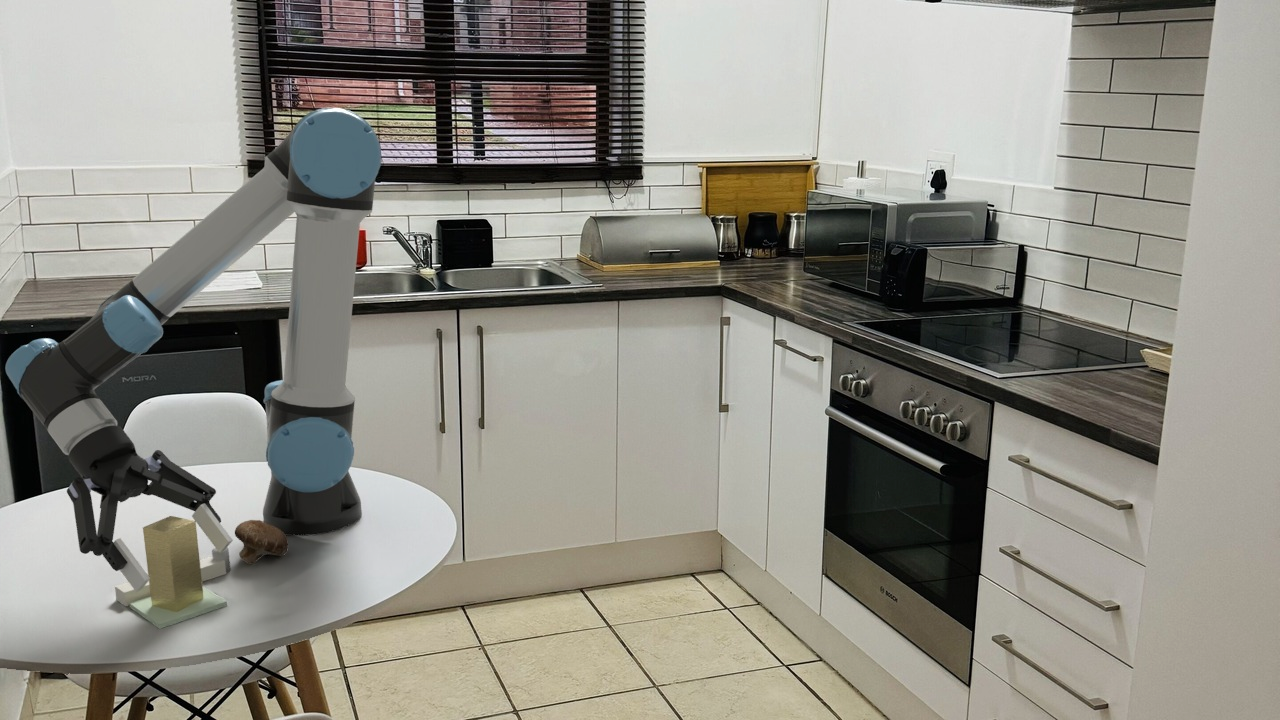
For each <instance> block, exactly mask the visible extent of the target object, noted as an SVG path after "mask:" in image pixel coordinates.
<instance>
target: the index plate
mask: <svg viewBox="0 0 1280 720" xmlns="http://www.w3.org/2000/svg"><path fill="white" fill-rule="evenodd" d="M202 587H203V597H204V598H203V599H202V600H200V601H198V602H196V603H194V604H192V605H190V606H188V607H186V608H184V609H182V610H180V611H178V612H174V611H170V610H166V609H162V608H159V607H155V606H152V602H151V596H150V597H147V598H144V599H141V600H138V601H135V602H132V603H130V605H129V608H130V609H132V610H133V611H135V612H136V613H137V614H138V615H140V616H141V617H143V618H144V619H145V620H147V621H148V622H150V623H151V624H153V626H155V627H156V628H157V629H163V628H165V627H169V626H172V625H174V624H179V623H181V622H183V621H186V620H189V619H191V618H196V617H198V616H200V615H203V614H206V613H209V612H213V611H215V610H218V609H220V608H224V607H227V606H228V601H227V600H226V599H224V598H223V597H221V596H219V595H218V594H216V593H214V592H212V591H211V590H210V589H208V588H206V587H205V586H203V585H202Z"/></svg>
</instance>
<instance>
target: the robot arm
mask: <svg viewBox="0 0 1280 720" xmlns="http://www.w3.org/2000/svg"><path fill="white" fill-rule="evenodd" d="M381 149H382V148H381V144H380V142H379V139H378V136H377V133H376V131H375V130H374V129H373V127H372V126H371V125H370V124H369V122H368V121H367V120H366V119H364V118H363V117H362V116H360V115H359V114H357V113H355V112H353V111H351V110H349V109H344V108H341V107H324V108H319V109H315V110H312V111H311V112H308V113H307V114H305V115H304V116H303V117H302V118H300V119H299V120H298V122H297V123H296V124H295V125H294V127H293V129H292V130H291V131H290V132H289V133H288V134H287V136H286V137H285V138H284V139H283V140H282V141H281V142H280V143H279V144H278V145H277V146H276V147H275V148H274V149H273V150H272V151H271V152H270V153H269V154H267V155H266V156H265V157H264V167H263V168H262V169H260V171H258V172H257V173H256V174H255V175H254V176H252V177H251V178H250V179H249V180H248V181H247V182H245V183H244V184H243V185H242V186H241V187H239V188H238V189H237V190H236V191H235V192H234V193H232V194H231V195H230V196H229V197H228V198H227V199H225V200H224V201H223V202H222V203H220V204H219V205H218V206H217V207H216V208H215V209H213V210H212V211H211V212H210V213H209V214H208V215H207V216H205V217H204V218H203V219H202V220H201V221H199V222H198V223H197V224H196V225H194V227H192V228H191V229H190V230H188V232H186V233H185V234H184V235H182V237H180V238H178V240H177V241H176V242H175V243H173V244H172V245H171V246H170V247H168V248H167V249H166V250H165V251H164V252H163V253H162V254H160V255H159V256H158V257H157V258H155V260H154V261H152V262H150V264H148V265H147V266H145V268H144V269H142V270H141V271H140V272H139V273H138V274H137V275H136V276H134V277H133V278H132V280H130V281H129V282H128V283H126V284H125V285H124V286H123V287H122V288H120V289H119V290H118V291H117V292H116V293H113V294H111V295H110V296H108V298H106V299H105V300H104V301H102V303H100V305H99V307H98V309H97V310H96V313H94V315H93V316H92V317H91V319H89V320H88V321H87V322H86V323H84V324H83V325H82V326H81V327H79V328H78V329H77V330H75V331H74V332H73V333H71V334H70V335H69V336H68V337H67V338H65V339H63V340H62V341H60V342H57V341H56V340H55V339H52V338H49V337H48V338H46V337H45V338H44V337H43V338H38V339H34V340H32V341H30V342H29V343H28V344H24V345H20V347H19V348H17V349H16V350H15V351H14V352H13V353H11V355H9V357H8V359H7V361H6V363H5V368H4V369H5V373H6V375H7V377H8V379H9V380H10V381H11V383H12V385H13V387H14V388H15V390H16V392H17V394H18V395H19V397H20V398H21V399H22V400H23V401H24V402H25V403H26V405H27V406H28V407H29V409H30V410H31V411H32V412H33V414H34V415H35V416H36V417H37V419H38V420H39V422H41V424H42V425H43V427H44V429H46V432H48V434H49V435H50V436H51V438H52V439H53V440H54V442H55V443H56V444H57V446H58V447H59V449H60V450H61V451H62V453H63V454H64V455H66V456H68V461H69V463H70V464H71V465H72V466H73V468H74V470H75V471H76V472H77V473H78V474H79V476H80V477H75V478H74V479H73V481H72V482H71V483H70V485H69V486H68V488H67V489H66V494H67V495H68V497H69V499H70V500H71V502H72V505H73V510H74V518H75V525H76V532H77V539H78V547H79V551H80V552H81V553H82V554H83V555H85V554H89V553H90V552H92V554H93V555H95V556H97V557H101V556H103V558H104V559H105V560H106V562H107V563H108V565H110V567H111V568H112V569H113V570H114V571H115V572H118V571H120V573H122V575H123V577H125V580H126V581H127V582H129V583H130V584H131V586H132V587H133V589H134V590H135V591H136V592H138V591H140V590H142V588H143V587H144V586H145V585H146V583H147V582H148V581H149V580H150V577H149V576H148V572H146V571H145V569H144V568H143V566H142V565H141V564H140V563H139V561H138V560H137V558H136V557H135V556H134V554H133V553H132V552H131V550H130V549H129V547H128V546H127V545H126V544H125V542H124V541H123V539H122V538H121V537H120V538H117V539H115V540H114V534H115V526H116V520H117V512H118V504H119V503H120V504H121V503H123V502H126V501H127V500H129V498H137V497H138V496H140V495H145V496H154V497H157V498H160V499H162V500H165V501H167V502H170V503H172V504H175V505H176V506H177V505H178V506H180V507H183V508H185V509H187V510H191V511H193V512H194V513H192V515H191V517H192V518H193V521H196V525H198V527H199V528H200V529H201V530H202V532H203V533H204V535H205V536H206V537H207V539H208V540H210V541H209V542H210V543H211V544H212V545H213V547H214V548H216V549H217V550H218V551H219V553H220V552H223V551H224V550H225V549H226V548H227V547H228V548H229V546H230V544H232V542H233V540H234V539H233V538H232V537H231V536H230V534H229V532H228V531H227V530H226V529H225V528H224V526H223V525H222V524H221V522H222V519H221V517H220V516H219V514H218V513H217V511H216V510H215V509H214V508H213V505H212V504H211V503H210V501H211V500H212V498H214V496H215V495H216V494H217V490H216V489H215V488H214V487H212V486H210V484H207V483H206V482H205V481H203V480H201V479H200V478H198V477H196V475H193V474H192V473H190V472H189V471H187V470H185V469H184V468H182V467H181V466H179V465H177V464H176V463H174V462H173V461H172V460H170V459H169V457H167V455H165V454H164V452H163V451H162V450H159V449H157V450H155V451H154V452H153V453H152V455H150V456H148V457H146V458H143V457H141V456H140V455H139V454H138V453H137V450H136V447H135V444H134V442H133V441H132V439H131V438H130V437H129V435H128V434H127V433H126V432H125V430H124V429H123V428H122V427H121V426H119V425H118V420H117V419H116V418H115V417H114V416H113V414H112V413H111V411H110V410H109V409H108V407H107V406H106V405H105V404H104V403H103V401H102V400H101V399H100V397H99V396H98V395H97V393H96V392H95V390H96V389H97V388H98V387H100V386H101V385H102V384H104V383H105V382H106V381H107V380H109V378H111V377H112V376H114V375H115V374H116V373H117V372H119V371H120V370H121V369H123V368H125V367H126V366H127V365H128V364H129V363H131V362H132V361H134V360H135V359H136V358H138V357H139V356H141V354H145V353H146V352H148V351H149V349H150V348H151V347H152V346H153V345H154V344H156V343H157V342H158V341H160V339H162V337H163V335H164V328H163V325H164V324H165V323H166V322H167V321H168V320H169V319H170V318H171V317H172V316H174V315H175V314H176V313H177V312H179V311H180V310H181V309H182V308H183V307H184V306H185V305H187V303H189V302H190V301H191V300H193V299H194V298H195V297H196V296H197V295H198V294H200V293H201V292H202V291H203V290H204V289H205V288H206V287H208V286H209V285H210V284H211V283H213V281H215V280H216V279H217V278H219V276H221V275H222V274H223V273H224V272H226V271H227V270H228V269H229V268H231V266H233V265H234V264H235V263H236V262H237V261H238V260H240V259H241V258H242V257H243V256H245V255H246V254H247V253H248V252H249V251H250V250H251V249H253V248H254V247H256V246H257V244H258V243H260V242H261V241H262V240H263V239H265V238H266V236H268V235H270V233H271V232H273V231H274V230H275V229H276V228H278V227H279V226H280V225H281V224H282V223H283V222H284V221H286V220H287V219H288V218H290V216H292V215H293V214H294V213H295V215H296V220H295V221H296V223H295V232H294V233H295V236H294V248H293V258H292V259H293V261H292V274H291V285H290V296H289V297H290V298H289V311H288V319H287V321H288V324H287V335H286V348H285V360H284V372H283V379H281V380H275V381H271V382H270V383H268V384H266V386H265V387H264V398H263V404H265V405H264V406H265V418H266V433H267V435H266V436H267V438H266V439H267V441H266V442H267V443H266V444H267V445H266V451H265V457H266V458H265V459H266V462H267V466H268V468H269V469H270V475H271V476H270V481H269V485H268V489H267V492H266V498H265V500H264V501H265V502H264V506H263V508H262V515H263V517H262V518H263V522H265V523H268V524H270V525H272V526H275V527H277V528H279V529H280V530H281V531H283V532H284V534H285V535H287V536H313V535H320V534H325V533H331V532H334V531H339V530H341V529H344V528H346V527H348V526H351V525H353V524H354V523H356V522H357V521H358V520H359V519H360V518H361V517H362V513H363V510H362V501H361V498H360V495H359V493H358V490H357V488H356V486H355V483H354V482H353V478H352V476H351V473H350V471H349V470H350V468H351V466H352V463H353V460H354V456H355V447H354V442H353V439H352V435H353V425H354V424H353V422H354V413H355V402H356V398H355V395H354V394H353V393H352V392H351V390H349V388H348V387H347V386H346V383H347V382H346V381H347V371H348V362H349V361H348V360H349V347H350V338H351V329H352V328H351V327H352V315H353V306H354V305H353V304H354V293H355V285H356V284H355V282H356V272H357V261H358V248H359V239H360V237H359V236H360V227H361V226H360V225H361V222H362V221H363V220H364V219H365V218H367V217H368V216H369V215H370V214H371V213H373V207H374V195H375V187H376V185H375V184H376V177H377V176H378V174H379V171H380V168H381V166H382V165H381V164H382V150H381ZM149 481H150V483H149ZM92 491H93V492H95V493H96V494H99V495H101V497H100V499H101V500H100V504H99V509H100V513H99V519H98V527H97V526H96V521H95V514H94V506H93V499H92V495H91V492H92ZM96 527H97V528H96ZM113 540H114V541H113Z"/></svg>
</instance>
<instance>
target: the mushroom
mask: <svg viewBox="0 0 1280 720" xmlns="http://www.w3.org/2000/svg"><path fill="white" fill-rule="evenodd" d="M234 536H235V537H236V539H238V540H239V541H240V542H242V545H243V547H242V549H241V550H240V551H239V552H238V556H239V558H240V559H242V561H244V562H246V563H247V564H249V565H253V564H255V563H256V562H257V561H259V559H261V558H262V557H263V556H265V555H271V556H272V555H273V556H277V557H283V556H285V555H286V554H287V553H288V549H289V541H288V538H287V536H286V535H285V534H284V532H283V531H281V530H280V529H279V528H277V527H275V526H272V525H270V524H268V523H265V522H264V521H262V520H260V519H249V520H245V521H243V522H241V523H239V524H238V525H237V526H236V527H235V530H234Z"/></svg>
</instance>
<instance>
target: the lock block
mask: <svg viewBox="0 0 1280 720" xmlns="http://www.w3.org/2000/svg"><path fill="white" fill-rule="evenodd" d="M197 531H198V529H197V522H196V521H195V520H194V519H187V518H183V517H178V516H175V515H169V516H167V517H164V518H162V519H160V520H158V521H154V522H153V523H150V524H148V525H145V526H143V527H142V532H143V540H144V549H145V559H146V567H147V575H148V576H149V577H150V580H149V585H150V594H151V602H152V606H155V607H159V608H162V609H166V610H170V611H174V612H178V611H180V610H182V609H184V608H186V607H188V606H190V605H192V604H194V603H196V602H198V601H200V600H202V599H203V598H204V597H203V587H204V586H203V582H202V578H201V568H200V559H201V558H200V550H199V540H198V532H197ZM202 586H203V587H202Z"/></svg>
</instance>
